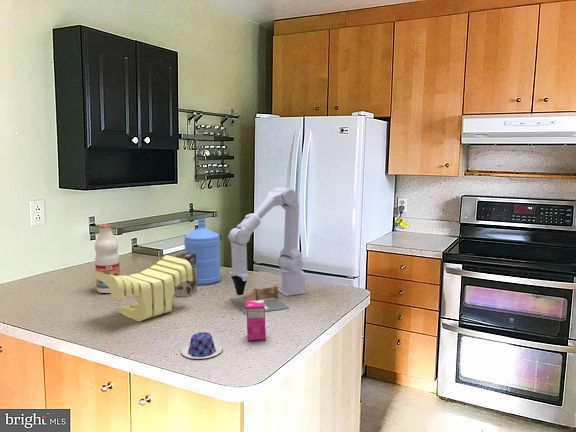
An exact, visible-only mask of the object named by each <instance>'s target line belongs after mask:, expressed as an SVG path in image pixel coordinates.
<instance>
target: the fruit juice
mask: <svg viewBox="0 0 576 432" xmlns="http://www.w3.org/2000/svg"><path fill="white" fill-rule="evenodd" d="M112 228H113V226H112V224H111V223H110V224H108V223H107V224H106V223H105V224H104V223H103V224H99V226H98V229H99V232H98V236H97V239H96V241H95V243H94V251H95V257H94V258H95V259H94V264H95V271H98V272H101V273H104V274H108V275H114V276H121V269H120V257H119V254H118V250H119V244H118V241H117V240H116V238H115V236H114V233H113V231H112ZM95 280H96V281H95V282H96V292H97V291H98V292H100V293H111V291H110V289H109V287H108V286H107V285H106V284H105V283H103V282H102V281H100V280H98V279H95ZM98 292H97V293H98ZM100 293H99V294H100Z"/></svg>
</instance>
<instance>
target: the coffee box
mask: <svg viewBox="0 0 576 432" xmlns="http://www.w3.org/2000/svg"><path fill="white" fill-rule="evenodd" d="M175 257H176V258H180V259H184V260H187V261H188V262H189V263H190V264H191V267H192V277H193V281H187V280H186V281H185V282H180V284H179V285H178V286H177V287H174V293H173V296H175V297H183V298H189V297H191V296H192V295H193V294H195V293H196V292H197V291H198V285H197V275H196V254H195V253H187V252H186V253H185V252H182V253H180V254H178V255H176V256H175Z"/></svg>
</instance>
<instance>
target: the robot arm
mask: <svg viewBox="0 0 576 432" xmlns="http://www.w3.org/2000/svg"><path fill="white" fill-rule="evenodd" d="M276 206H280V207H281V208H282V209H283V210H284V236H283V237H284V238H283V239H284V242H283V248H282V249H281V250H280V252H279V257H278V261H277V264H278V266H279V268H280V271H281V289H279V288H278V292H279V293H281V294H282V295H283V296H286V297H287V296H294V295H295V296H296V295H302V294H307V291H306V287H307V286H306V279H307V278H306V273H305V272H304V271H303V267H304V261H303V258H302V257H303V256H302V252H301V251H300V250H299V249H298V246H299V245H298V241H299V239H298V237H299V218H300V217H299V216H300V213H299V212H300V205H299V201H298V193H297V192H296V191H295V189H293V188H291V187H289V188H288V187H287V188H286V187H280V186H274V187H273V188H272V189H271V190H270V191H268V192H267V196H266V197H265V199H264V200H263V201H262V202H261V203H260V205H259V206H258V207H257V209H256V210H255V211H254V212H253V213H248V214H246V215H245V216H244V219H243V220H242V221H241V222H240V223H239V224H237V225H236V227H235V228H234V227H233V228H232V229H231V230H230V231H229V234H228V235H227V238H228V240H229V242H230V246H231V248H230V250H231V271H229V272H228V274H229V275H231V279H232V282H233V284H234V288H235V292H236V295H237V296H243V295H244V292H245V287H246V284H247V282H248V281H249V275H248V273H249V271H248V258H247V257H248V249H247V248H248V247H247V245H248V244H247V243H249V241H250V239H251V235H252V234H253V233H254V231H256V230H257V228H258V227H259V226H260V225H261V220H262V218H263V217H264V216H266V214H267V213H269V212H270V211H271V209H272V208H274V207H276Z"/></svg>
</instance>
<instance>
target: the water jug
mask: <svg viewBox="0 0 576 432" xmlns="http://www.w3.org/2000/svg"><path fill="white" fill-rule="evenodd" d="M197 225H198V226H197V228H196V229H194V230H193V231H190V232H189V233H187V234H185V236H184V240H183V243H184V244H183V245H184V251H185V252H186V253H195V254H196V275H197V286H205V285H213V284H215V283H216V284H217V282H219V281H220V280H221V277H222V274H221V249H220V248H221V247H220V245H221V238H220V234H219V233H217V232H215V231H213V230H211V229H208V228H207V227H206V218H199V219H198V218H197Z"/></svg>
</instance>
